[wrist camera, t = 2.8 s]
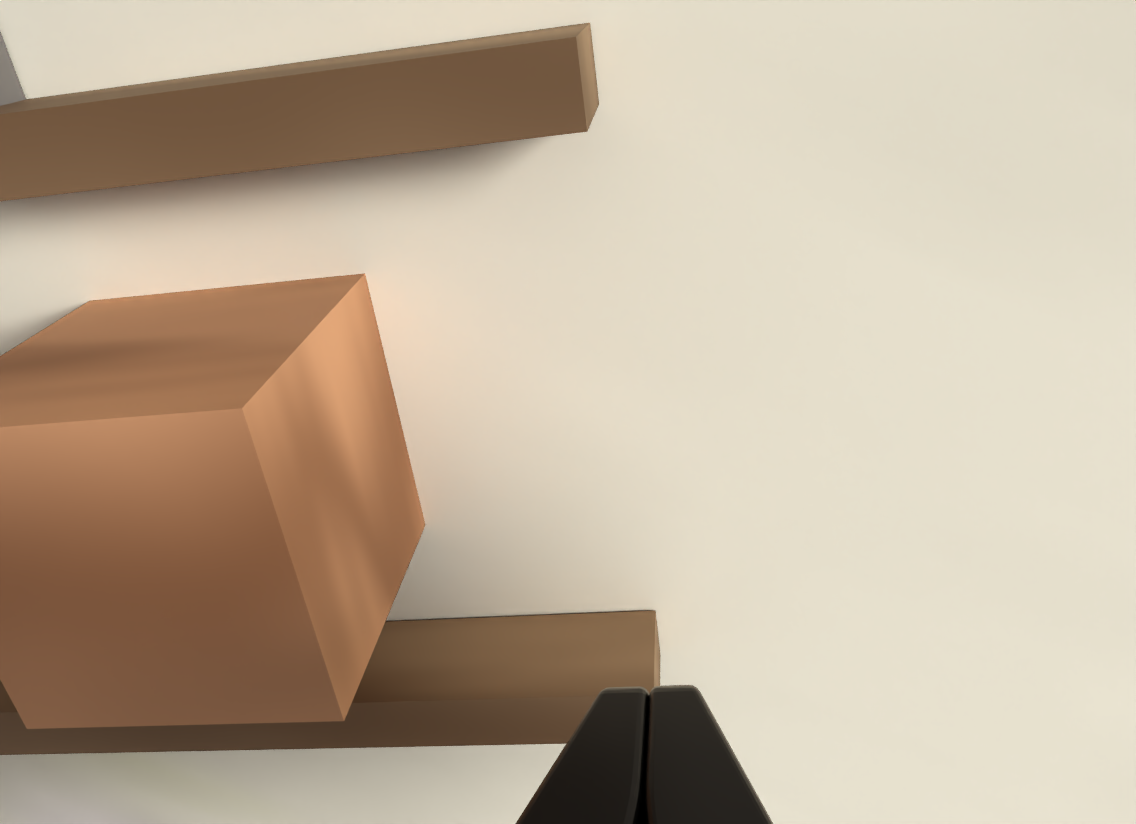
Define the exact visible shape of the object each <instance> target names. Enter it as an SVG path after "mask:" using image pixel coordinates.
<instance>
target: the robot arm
mask: <svg viewBox="0 0 1136 824" xmlns="http://www.w3.org/2000/svg"><path fill="white" fill-rule="evenodd" d="M516 824H773V823H772V821H771V819H770V817H769V815H768V814H767V812H766V810H765V808H764V806H763V805H762V803H761V801H760V799H759V797H758V795H757V794H756V792H755V790H754V788H753V786H752V785H751V783H750V781H749V779H748V777H747V776H746V774H745V772H744V770H743V768H742V767H741V765H740V763H739V761H738V759H737V758H736V756H735V754H734V752H733V750H732V748H731V747H730V745H729V743H728V741H727V739H726V738H725V736H724V734H723V732H722V730H721V729H720V727H719V725H718V723H717V721H716V720H715V718H714V716H713V714H712V712H711V711H710V709H709V707H708V705H707V703H706V702H705V700H704V698H703V696H702V694H701V693H700V691H699V690H698V689H697V688H696V687H694V686H693V685H672V686H655V687H654V688H652V690H651V691H650V694H649V692H648V691H647V689H645V688H644V687H640V686H638V687H608V688H605V689H603V690H602V691H600V693H599V694H598V695H597V697H596V698H595V700H594V701H593V703H592V705H591V706H590V708H589V709H588V711H587V712H586V714H585V716H584V717H583V719H582V720H581V722H580V723H579V725H578V727H577V728H576V730H575V731H574V733H573V734H572V736H571V738H570V739H569V741H568V742H567V744H566V745H565V747H564V749H563V750H562V752H561V753H560V755H559V756H558V758H557V760H556V761H555V763H554V764H553V766H552V767H551V769H550V771H549V772H548V774H547V775H546V777H545V778H544V780H543V782H542V783H541V785H540V786H539V788H538V789H537V791H536V793H535V794H534V796H533V797H532V799H531V800H530V802H529V804H528V805H527V807H526V808H525V810H524V811H523V813H522V815H521V816H520V818H519V819H518V821H517V822H516Z"/></svg>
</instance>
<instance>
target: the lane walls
mask: <svg viewBox="0 0 1136 824" xmlns="http://www.w3.org/2000/svg"><path fill="white" fill-rule="evenodd" d="M598 105H599V100H598V91H597V82H596V73H595V64H594V55H593V46H592V37H591V28H590V23H584V24H577V25H570V26H562V27H555V28H548V29H540V30H533V31H526V32H518V33H511V34H504V35H496V36H489V37H482V38H474V39H467V40H460V41H452V42H445V43H438V44H430V45H423V46H416V47H408V48H401V49H394V50H386V51H379V52H372V53H364V54H357V55H349V56H342V57H335V58H327V59H320V60H313V61H305V62H298V63H291V64H283V65H276V66H269V67H261V68H254V69H247V70H239V71H232V72H225V73H217V74H210V75H203V76H195V77H188V78H181V79H173V80H166V81H159V82H151V83H144V84H137V85H129V86H122V87H115V88H107V89H100V90H93V91H85V92H78V93H71V94H63V95H56V96H49V97H41V98H34V99H27V100H22V101H18V102H14V103H10V104H6V105H2V106H0V201H6V200H15V199H23V198H31V197H40V196H48V195H57V194H65V193H74V192H82V191H90V190H99V189H107V188H116V187H124V186H133V185H141V184H149V183H158V182H166V181H175V180H183V179H191V178H200V177H208V176H217V175H225V174H234V173H242V172H250V171H259V170H267V169H276V168H284V167H292V166H301V165H309V164H318V163H326V162H335V161H343V160H351V159H360V158H368V157H377V156H385V155H394V154H402V153H410V152H419V151H427V150H436V149H444V148H452V147H461V146H469V145H478V144H486V143H495V142H503V141H511V140H520V139H528V138H537V137H545V136H553V135H562V134H570V133H579V132H587V131H588V129H589V126H590V124H591V122H592V119H593V117H594V115H595V112H596V110H597V107H598ZM638 686H640V687H644V688H645V689H647V691H648V692H649V694H650V691H651V690H652V688H654V687H655V686H660V648H659V639H658V630H657V621H656V612H655V611H632V612H608V613H584V614H559V615H535V616H511V617H486V618H462V619H438V620H413V621H389V622H385V624H384V626H383V628H382V631H381V633H380V636H379V638H378V640H377V643H376V645H375V648H374V650H373V653H372V655H371V657H370V660H369V662H368V665H367V667H366V669H365V672H364V674H363V677H362V679H361V681H360V684H359V686H358V689H357V691H356V694H355V696H354V698H353V701H352V703H351V706H350V708H349V710H348V713H347V715H346V718H345V720H344V721H330V722H289V723H249V724H208V725H167V726H126V727H85V728H45V729H27V728H26V726H25V725H24V723H23V721H22V719H21V717H20V715H19V713H18V712H17V710H16V708H15V706H14V704H13V702H12V700H11V699H10V697H9V695H8V693H7V691H6V689H5V687H4V686H3V684H2V682H1V680H0V755H18V754H68V753H118V752H167V751H217V750H266V749H316V748H366V747H415V746H465V745H514V744H564V743H567V742H568V741H569V739H570V738H571V736H572V734H573V733H574V731H575V730H576V728H577V727H578V725H579V723H580V722H581V720H582V719H583V717H584V716H585V714H586V712H587V711H588V709H589V708H590V706H591V705H592V703H593V701H594V700H595V698H596V697H597V695H598V694H599V693H600V691H602V690H603V689H605V688H608V687H638Z"/></svg>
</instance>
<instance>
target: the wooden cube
mask: <svg viewBox="0 0 1136 824" xmlns="http://www.w3.org/2000/svg"><path fill="white" fill-rule="evenodd" d="M424 527H425V522H424V518H423V513H422V509H421V505H420V501H419V497H418V493H417V488H416V484H415V480H414V476H413V472H412V468H411V464H410V459H409V455H408V451H407V447H406V443H405V439H404V434H403V430H402V426H401V422H400V418H399V414H398V409H397V405H396V401H395V397H394V393H393V389H392V384H391V380H390V376H389V372H388V368H387V364H386V359H385V355H384V351H383V347H382V343H381V339H380V334H379V330H378V326H377V322H376V318H375V314H374V309H373V305H372V301H371V297H370V293H369V289H368V284H367V280H366V276H365V274H356V275H345V276H335V277H325V278H315V279H305V280H295V281H285V282H275V283H265V284H255V285H245V286H235V287H224V288H214V289H204V290H194V291H184V292H174V293H164V294H154V295H144V296H134V297H124V298H114V299H103V300H93V301H89V302H87V303H85V304H84V305H82V306H81V307H79V308H77V309H76V310H74V311H72V312H71V313H69V314H68V315H66V316H64V317H63V318H61V319H60V320H58V321H56V322H55V323H53V324H52V325H50V326H48V327H47V328H45V329H43V330H42V331H40V332H39V333H37V334H35V335H34V336H32V337H31V338H29V339H27V340H26V341H24V342H23V343H21V344H19V345H18V346H16V347H14V348H13V349H11V350H10V351H8V352H6V353H5V354H3V355H2V356H0V680H1V682H2V684H3V686H4V687H5V689H6V691H7V693H8V695H9V697H10V699H11V700H12V702H13V704H14V706H15V708H16V710H17V712H18V713H19V715H20V717H21V719H22V721H23V723H24V725H25V726H26V728H27V729H45V728H85V727H126V726H167V725H208V724H249V723H289V722H330V721H344V720H345V718H346V715H347V713H348V710H349V708H350V706H351V703H352V701H353V698H354V696H355V694H356V691H357V689H358V686H359V684H360V681H361V679H362V677H363V674H364V672H365V669H366V667H367V665H368V662H369V660H370V657H371V655H372V653H373V650H374V648H375V645H376V643H377V640H378V638H379V636H380V633H381V631H382V628H383V626H384V624H385V621H386V619H387V616H388V614H389V612H390V609H391V607H392V604H393V602H394V599H395V597H396V595H397V592H398V590H399V587H400V585H401V583H402V580H403V578H404V575H405V573H406V571H407V568H408V566H409V563H410V561H411V558H412V556H413V554H414V551H415V549H416V546H417V544H418V542H419V539H420V537H421V534H422V532H423V529H424Z"/></svg>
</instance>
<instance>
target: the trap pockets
mask: <svg viewBox="0 0 1136 824" xmlns="http://www.w3.org/2000/svg"><path fill="white" fill-rule="evenodd" d="M22 100H26V98H25V95H24V93H23V90H22V87H21V85H20V82H19V80H18V77H17V74H16V72H15V69H14V66H13V64H12V61H11V58H10V56H9V53H8V51H7V48H6V45H5V43H4V40H3V37H2V35H1V32H0V106H2V105H6V104H10V103H14V102H18V101H22Z"/></svg>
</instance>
